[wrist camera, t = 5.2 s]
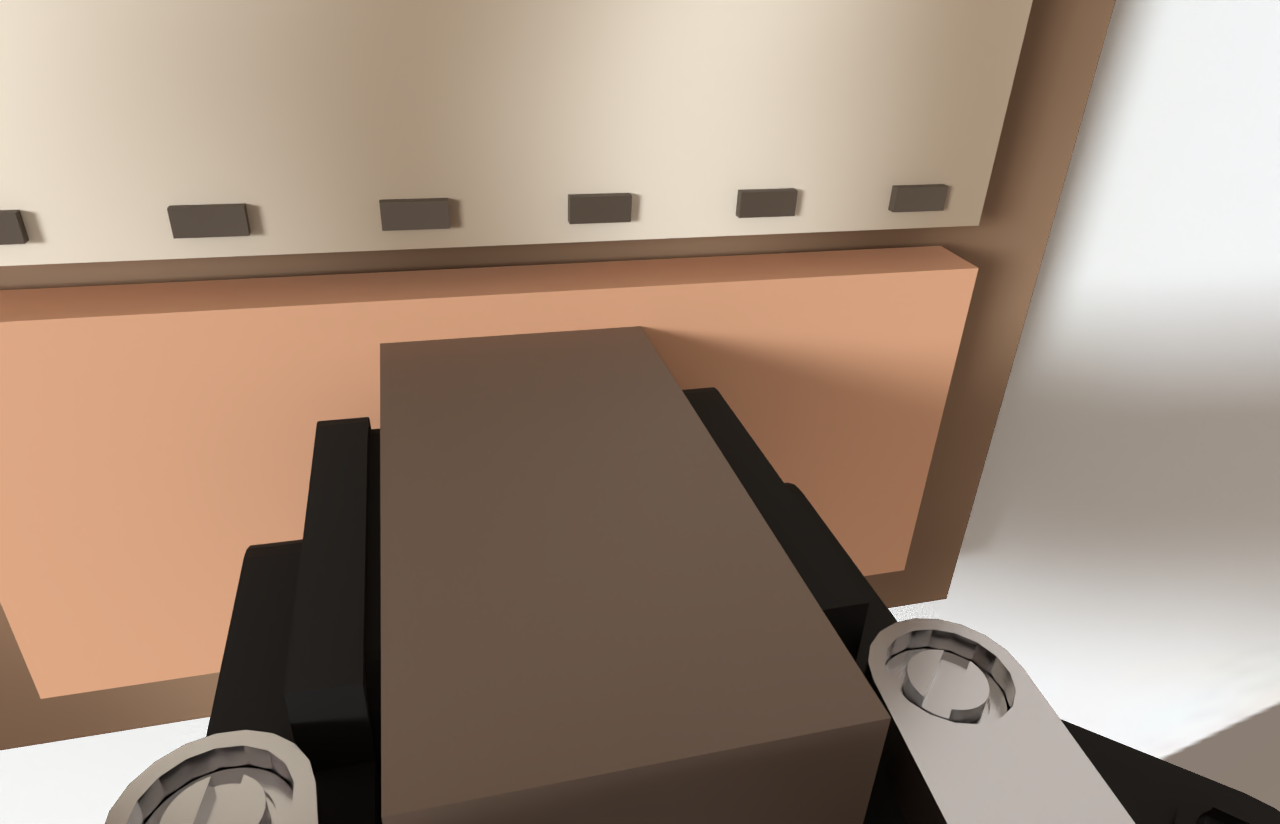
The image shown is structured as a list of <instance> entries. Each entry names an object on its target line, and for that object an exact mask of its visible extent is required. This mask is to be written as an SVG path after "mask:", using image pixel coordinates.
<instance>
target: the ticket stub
mask: <svg viewBox="0 0 1280 824" xmlns="http://www.w3.org/2000/svg"><path fill="white" fill-rule="evenodd" d="M978 269H979V268H978V267H976V266H974V265H972V264H971V263H969V262H967V261H966V260H964V259H962V258H961V257H959V256H957V255H955V254H954V253H952V252H950V251H949V250H947V249H945V248H944V247H942V246H925V247H904V248H883V249H862V250H841V251H820V252H799V253H778V254H756V255H735V256H714V257H693V258H672V259H651V260H630V261H609V262H588V263H567V264H546V265H524V266H503V267H482V268H461V269H440V270H419V271H398V272H377V273H356V274H335V275H314V276H293V277H271V278H250V279H229V280H208V281H187V282H166V283H145V284H124V285H103V286H82V287H61V288H39V289H18V290H0V603H1V605H2V608H3V610H4V612H5V615H6V617H7V620H8V622H9V624H10V627H11V629H12V631H13V634H14V636H15V639H16V641H17V643H18V646H19V648H20V650H21V653H22V655H23V658H24V660H25V662H26V665H27V667H28V670H29V672H30V674H31V677H32V679H33V681H34V684H35V686H36V689H37V691H38V693H39V696H40V698H41V699H44V698H50V697H57V696H64V695H71V694H77V693H84V692H91V691H97V690H104V689H111V688H118V687H124V686H131V685H138V684H144V683H151V682H158V681H164V680H171V679H178V678H185V677H191V676H198V675H205V674H211V673H218V672H220V669H221V664H222V659H223V654H224V650H225V645H226V640H227V635H228V631H229V626H230V621H231V616H232V611H233V607H234V602H235V597H236V592H237V588H238V583H239V578H240V573H241V568H242V564H243V559H244V556H245V553H246V549H247V548H248V547H249V546H250V545H258V544H267V543H275V542H284V541H292V540H301V539H303V533H304V524H305V516H306V508H307V500H308V491H309V483H310V475H311V467H312V458H313V450H314V442H315V433H316V426H317V422H318V421H326V420H337V419H349V418H361V417H369V419H370V424H371V429H380V515H381V817H382V824H863V822H864V818H865V814H866V810H867V807H868V803H869V799H870V795H871V791H872V788H873V784H874V780H875V776H876V773H877V769H878V765H879V761H880V758H881V754H882V750H883V746H884V743H885V739H886V735H887V731H888V727H889V724H890V720H891V717H890V715H889V714H888V712H887V711H886V709H885V708H884V706H883V704H882V703H881V701H880V700H879V698H878V697H877V695H876V693H875V692H874V690H873V689H872V687H871V686H870V684H869V683H868V681H867V679H866V678H865V676H864V675H863V673H862V672H861V670H860V668H859V667H858V665H857V664H856V662H855V661H854V659H853V657H852V656H851V654H850V653H849V651H848V650H847V648H846V647H845V645H844V643H843V642H842V640H841V639H840V637H839V636H838V634H837V632H836V631H835V629H834V628H833V626H832V625H831V623H830V621H829V620H828V618H827V617H826V615H825V614H824V612H823V611H822V609H821V607H820V606H819V604H818V603H817V601H816V600H815V598H814V596H813V595H812V593H811V592H810V590H809V589H808V587H807V585H806V584H805V582H804V581H803V579H802V578H801V576H800V575H799V573H798V571H797V570H796V568H795V567H794V565H793V564H792V562H791V560H790V559H789V557H788V556H787V554H786V553H785V551H784V549H783V548H782V546H781V545H780V543H779V542H778V540H777V539H776V537H775V535H774V534H773V532H772V531H771V529H770V528H769V526H768V524H767V523H766V521H765V520H764V518H763V517H762V515H761V513H760V512H759V510H758V509H757V507H756V506H755V504H754V502H753V501H752V499H751V498H750V496H749V495H748V493H747V492H746V490H745V488H744V487H743V485H742V484H741V482H740V481H739V479H738V477H737V476H736V474H735V473H734V471H733V470H732V468H731V466H730V465H729V463H728V462H727V460H726V459H725V457H724V456H723V454H722V452H721V451H720V449H719V448H718V446H717V445H716V443H715V441H714V440H713V438H712V437H711V435H710V434H709V432H708V430H707V429H706V427H705V426H704V424H703V423H702V421H701V420H700V418H699V416H698V415H697V413H696V412H695V410H694V409H693V407H692V405H691V404H690V402H689V401H688V399H687V398H686V396H685V394H684V393H683V391H682V390H685V389H697V388H709V387H715V388H716V389H717V390H718V391H719V392H720V394H721V395H722V397H723V398H724V399H725V401H726V402H727V404H728V405H729V406H730V408H731V409H732V411H733V412H734V413H735V415H736V416H737V418H738V419H739V420H740V422H741V423H742V425H743V426H744V427H745V429H746V430H747V432H748V433H749V434H750V436H751V437H752V439H753V440H754V441H755V443H756V444H757V446H758V447H759V448H760V450H761V451H762V453H763V454H764V455H765V457H766V458H767V460H768V461H769V462H770V464H771V465H772V467H773V468H774V469H775V471H776V472H777V474H778V475H779V477H780V478H781V479H782V481H783V482H784V483H791V484H795V485H796V486H797V487H798V488H799V489H800V490H801V491H802V492H803V494H804V495H805V497H806V498H807V499H808V501H809V502H810V503H811V505H812V506H813V507H814V509H815V510H816V512H817V513H818V514H819V516H820V517H821V518H822V520H823V521H824V522H825V524H826V525H827V527H828V528H829V529H830V531H831V532H832V533H833V535H834V536H835V537H836V539H837V540H838V542H839V543H840V544H841V546H842V547H843V548H844V550H845V551H846V552H847V554H848V555H849V556H850V558H851V559H852V561H853V562H854V563H855V565H856V566H857V567H858V569H859V570H860V571H861V573H862V574H863V576H869V575H875V574H882V573H889V572H895V571H902V570H904V569H905V565H906V561H907V556H908V552H909V548H910V544H911V540H912V536H913V532H914V528H915V524H916V520H917V516H918V512H919V508H920V504H921V500H922V496H923V492H924V488H925V483H926V479H927V475H928V471H929V467H930V463H931V459H932V455H933V451H934V447H935V443H936V439H937V435H938V431H939V427H940V423H941V419H942V415H943V410H944V406H945V402H946V398H947V394H948V390H949V386H950V382H951V378H952V374H953V370H954V366H955V362H956V358H957V354H958V350H959V346H960V342H961V337H962V333H963V329H964V325H965V321H966V317H967V313H968V309H969V305H970V301H971V297H972V293H973V289H974V285H975V281H976V277H977V273H978Z"/></svg>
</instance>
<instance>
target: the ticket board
mask: <svg viewBox="0 0 1280 824" xmlns="http://www.w3.org/2000/svg"><path fill="white" fill-rule="evenodd" d="M1115 1H1116V0H0V290H18V289H39V288H61V287H82V286H103V285H124V284H145V283H166V282H187V281H208V280H229V279H250V278H271V277H293V276H314V275H335V274H356V273H377V272H398V271H419V270H440V269H461V268H482V267H503V266H524V265H546V264H567V263H588V262H609V261H630V260H651V259H672V258H693V257H714V256H735V255H756V254H778V253H799V252H820V251H841V250H862V249H883V248H904V247H925V246H942V247H944V248H945V249H947V250H949V251H950V252H952V253H954V254H955V255H957V256H959V257H961V258H962V259H964V260H966V261H967V262H969V263H971V264H972V265H974V266H976V267H978V268H979V269H978V273H977V277H976V281H975V285H974V289H973V293H972V297H971V301H970V305H969V309H968V313H967V317H966V321H965V325H964V329H963V333H962V337H961V342H960V346H959V350H958V354H957V358H956V362H955V366H954V370H953V374H952V378H951V382H950V386H949V390H948V394H947V398H946V402H945V406H944V410H943V415H942V419H941V423H940V427H939V431H938V435H937V439H936V443H935V447H934V451H933V455H932V459H931V463H930V467H929V471H928V475H927V479H926V483H925V488H924V492H923V496H922V500H921V504H920V508H919V512H918V516H917V520H916V524H915V528H914V532H913V536H912V540H911V544H910V548H909V552H908V556H907V561H906V565H905V569H904V570H902V571H895V572H889V573H882V574H875V575H869V576H864V577H865V578H866V580H867V581H868V582H869V584H870V585H871V586H872V588H873V589H874V591H875V592H876V593H877V595H878V596H879V597H880V599H881V600H882V601H883V603H884V604H885V606H886V607H887V608H891V607H898V606H904V605H910V604H916V603H923V602H929V601H935V600H941V599H946V598H947V594H948V591H949V587H950V584H951V580H952V577H953V573H954V570H955V566H956V563H957V559H958V555H959V552H960V548H961V545H962V541H963V538H964V534H965V531H966V527H967V524H968V520H969V517H970V513H971V510H972V506H973V502H974V499H975V495H976V492H977V488H978V485H979V481H980V478H981V474H982V471H983V467H984V464H985V460H986V457H987V453H988V450H989V446H990V442H991V439H992V435H993V432H994V428H995V425H996V421H997V418H998V414H999V411H1000V407H1001V404H1002V400H1003V397H1004V393H1005V389H1006V386H1007V382H1008V379H1009V375H1010V372H1011V368H1012V365H1013V361H1014V358H1015V354H1016V351H1017V347H1018V344H1019V340H1020V336H1021V333H1022V329H1023V326H1024V322H1025V319H1026V315H1027V312H1028V308H1029V305H1030V301H1031V298H1032V294H1033V291H1034V287H1035V283H1036V280H1037V276H1038V273H1039V269H1040V266H1041V262H1042V259H1043V255H1044V252H1045V248H1046V245H1047V241H1048V238H1049V234H1050V230H1051V227H1052V223H1053V220H1054V216H1055V213H1056V209H1057V206H1058V202H1059V199H1060V195H1061V192H1062V188H1063V185H1064V181H1065V177H1066V174H1067V170H1068V167H1069V163H1070V160H1071V156H1072V153H1073V149H1074V146H1075V142H1076V139H1077V135H1078V132H1079V128H1080V125H1081V121H1082V117H1083V114H1084V110H1085V107H1086V103H1087V100H1088V96H1089V93H1090V89H1091V86H1092V82H1093V79H1094V75H1095V72H1096V68H1097V64H1098V61H1099V57H1100V54H1101V50H1102V47H1103V43H1104V40H1105V36H1106V33H1107V29H1108V26H1109V22H1110V19H1111V15H1112V11H1113V8H1114V4H1115ZM219 674H220V672H218V673H211V674H205V675H198V676H191V677H185V678H178V679H171V680H164V681H158V682H151V683H144V684H138V685H131V686H124V687H118V688H111V689H104V690H97V691H91V692H84V693H77V694H71V695H64V696H57V697H50V698H44V699H41V698H40V696H39V693H38V691H37V689H36V686H35V684H34V681H33V679H32V677H31V674H30V672H29V670H28V667H27V665H26V662H25V660H24V658H23V655H22V653H21V650H20V648H19V646H18V643H17V641H16V639H15V636H14V634H13V631H12V629H11V627H10V624H9V622H8V620H7V617H6V615H5V612H4V610H3V608H2V605H1V603H0V750H5V749H11V748H18V747H24V746H30V745H36V744H43V743H49V742H55V741H61V740H68V739H74V738H80V737H86V736H93V735H99V734H105V733H111V732H118V731H124V730H130V729H136V728H143V727H149V726H155V725H161V724H168V723H174V722H180V721H186V720H192V719H199V718H205V717H211V712H212V707H213V702H214V697H215V693H216V688H217V683H218V678H219Z"/></svg>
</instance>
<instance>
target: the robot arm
mask: <svg viewBox="0 0 1280 824" xmlns="http://www.w3.org/2000/svg"><path fill="white" fill-rule="evenodd" d="M682 391H683V393H684V394H685V396H686V398H687V399H688V401H689V402H690V404H691V405H692V407H693V409H694V410H695V412H696V413H697V415H698V416H699V418H700V420H701V421H702V423H703V424H704V426H705V427H706V429H707V430H708V432H709V434H710V435H711V437H712V438H713V440H714V441H715V443H716V445H717V446H718V448H719V449H720V451H721V452H722V454H723V456H724V457H725V459H726V460H727V462H728V463H729V465H730V466H731V468H732V470H733V471H734V473H735V474H736V476H737V477H738V479H739V481H740V482H741V484H742V485H743V487H744V488H745V490H746V492H747V493H748V495H749V496H750V498H751V499H752V501H753V502H754V504H755V506H756V507H757V509H758V510H759V512H760V513H761V515H762V517H763V518H764V520H765V521H766V523H767V524H768V526H769V528H770V529H771V531H772V532H773V534H774V535H775V537H776V539H777V540H778V542H779V543H780V545H781V546H782V548H783V549H784V551H785V553H786V554H787V556H788V557H789V559H790V560H791V562H792V564H793V565H794V567H795V568H796V570H797V571H798V573H799V575H800V576H801V578H802V579H803V581H804V582H805V584H806V585H807V587H808V589H809V590H810V592H811V593H812V595H813V596H814V598H815V600H816V601H817V603H818V604H819V606H820V607H821V609H822V611H823V612H824V614H825V615H826V617H827V618H828V620H829V621H830V623H831V625H832V626H833V628H834V629H835V631H836V632H837V634H838V636H839V637H840V639H841V640H842V642H843V643H844V645H845V647H846V648H847V650H848V651H849V653H850V654H851V656H852V657H853V659H854V661H855V662H856V664H857V665H858V667H859V668H860V670H861V672H862V673H863V675H864V676H865V678H866V679H867V681H868V683H869V684H870V686H871V687H872V689H873V690H874V692H875V693H876V695H877V697H878V698H879V700H880V701H881V703H882V704H883V706H884V708H885V709H886V711H887V712H888V714H889V715H890V717H891V720H890V724H889V727H888V731H887V735H886V739H885V743H884V746H883V750H882V754H881V758H880V761H879V765H878V769H877V773H876V776H875V780H874V784H873V788H872V791H871V795H870V799H869V803H868V807H867V810H866V814H865V818H864V822H863V824H1280V812H1279V811H1278V810H1277V809H1275V808H1273V807H1271V806H1269V805H1267V804H1265V803H1263V802H1261V801H1259V800H1257V799H1255V798H1253V797H1251V796H1249V795H1247V794H1245V793H1243V792H1240V791H1237V790H1235V789H1233V788H1230V787H1227V786H1225V785H1222V784H1220V783H1218V782H1215V781H1213V780H1210V779H1208V778H1205V777H1203V776H1200V775H1198V774H1195V773H1193V772H1191V771H1188V770H1186V769H1183V768H1181V767H1178V766H1175V765H1173V764H1170V763H1168V762H1166V761H1163V760H1161V759H1158V758H1156V757H1153V756H1151V755H1148V754H1146V753H1143V752H1141V751H1138V750H1136V749H1133V748H1131V747H1128V746H1126V745H1123V744H1121V743H1118V742H1116V741H1113V740H1111V739H1108V738H1106V737H1103V736H1101V735H1098V734H1096V733H1093V732H1091V731H1088V730H1086V729H1084V728H1081V727H1079V726H1076V725H1074V724H1071V723H1069V722H1066V721H1064V720H1061V719H1060V718H1059V717H1058V716H1057V714H1056V713H1055V711H1054V710H1053V709H1052V707H1051V706H1050V705H1049V703H1048V702H1047V700H1046V699H1045V698H1044V696H1043V695H1042V693H1041V692H1040V691H1039V689H1038V688H1037V686H1036V685H1035V684H1034V682H1033V681H1032V680H1031V678H1030V677H1029V675H1028V674H1027V673H1026V671H1025V670H1024V668H1023V667H1022V666H1021V665H1020V664H1019V663H1018V662H1017V661H1016V660H1015V658H1014V657H1013V656H1012V655H1011V654H1010V653H1009V652H1008V651H1007V650H1006V649H1005V648H1003V647H1002V646H1000V645H999V644H997V643H996V642H994V641H993V640H992V639H990V638H989V637H987V636H986V635H984V634H981V633H979V632H977V631H975V630H972V629H970V628H968V627H966V626H963V625H960V624H956V623H952V622H948V621H944V620H939V619H919V618H915V619H910V620H905V621H901V622H897V621H896V619H895V618H894V616H893V615H892V614H891V612H890V611H889V610H888V608H887V607H886V606H885V604H884V603H883V601H882V600H881V599H880V597H879V596H878V595H877V593H876V592H875V591H874V589H873V588H872V586H871V585H870V584H869V582H868V581H867V580H866V578H865V577H864V576H863V574H862V573H861V571H860V570H859V569H858V567H857V566H856V565H855V563H854V562H853V561H852V559H851V558H850V556H849V555H848V554H847V552H846V551H845V550H844V548H843V547H842V546H841V544H840V543H839V542H838V540H837V539H836V537H835V536H834V535H833V533H832V532H831V531H830V529H829V528H828V527H827V525H826V524H825V522H824V521H823V520H822V518H821V517H820V516H819V514H818V513H817V512H816V510H815V509H814V507H813V506H812V505H811V503H810V502H809V501H808V499H807V498H806V497H805V495H804V494H803V492H802V491H801V490H800V489H799V488H798V487H797V486H796V485H795V484H791V483H784V482H783V481H782V479H781V478H780V477H779V475H778V474H777V472H776V471H775V469H774V468H773V467H772V465H771V464H770V462H769V461H768V460H767V458H766V457H765V455H764V454H763V453H762V451H761V450H760V448H759V447H758V446H757V444H756V443H755V441H754V440H753V439H752V437H751V436H750V434H749V433H748V432H747V430H746V429H745V427H744V426H743V425H742V423H741V422H740V420H739V419H738V418H737V416H736V415H735V413H734V412H733V411H732V409H731V408H730V406H729V405H728V404H727V402H726V401H725V399H724V398H723V397H722V395H721V394H720V392H719V391H718V390H717V389H716V388H715V387H709V388H697V389H685V390H682ZM105 824H382V817H381V515H380V429H371V424H370V419H369V417H361V418H349V419H337V420H326V421H318V422H317V426H316V433H315V442H314V450H313V458H312V467H311V475H310V483H309V491H308V500H307V508H306V516H305V524H304V533H303V539H301V540H292V541H284V542H275V543H267V544H258V545H250V546H249V547H248V548H247V549H246V553H245V556H244V559H243V564H242V568H241V573H240V578H239V583H238V588H237V592H236V597H235V602H234V607H233V611H232V616H231V621H230V626H229V631H228V635H227V640H226V645H225V650H224V654H223V659H222V664H221V669H220V674H219V678H218V683H217V688H216V693H215V697H214V702H213V707H212V712H211V717H210V721H209V726H208V731H207V736H206V737H205V738H202V739H199V740H196V741H193V742H190V743H187V744H185V745H183V746H181V747H180V748H178V749H176V750H174V751H173V752H171V753H169V754H167V755H166V756H164V757H162V758H160V759H159V760H157V761H155V762H154V763H153V764H152V765H151V766H149V767H148V768H147V769H146V770H145V771H144V772H143V773H141V774H140V775H139V776H138V777H137V778H136V779H135V780H133V781H132V782H131V783H130V784H129V785H128V786H127V788H126V789H125V791H124V792H123V793H122V795H121V796H120V797H119V799H118V800H117V801H116V803H115V804H114V806H113V807H112V808H111V810H110V811H109V814H108V817H107V819H106V822H105Z"/></svg>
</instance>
